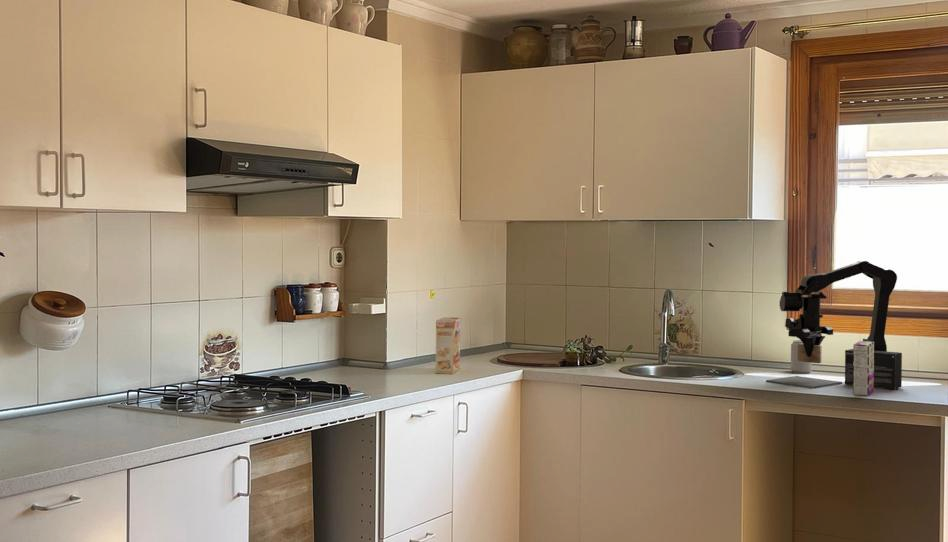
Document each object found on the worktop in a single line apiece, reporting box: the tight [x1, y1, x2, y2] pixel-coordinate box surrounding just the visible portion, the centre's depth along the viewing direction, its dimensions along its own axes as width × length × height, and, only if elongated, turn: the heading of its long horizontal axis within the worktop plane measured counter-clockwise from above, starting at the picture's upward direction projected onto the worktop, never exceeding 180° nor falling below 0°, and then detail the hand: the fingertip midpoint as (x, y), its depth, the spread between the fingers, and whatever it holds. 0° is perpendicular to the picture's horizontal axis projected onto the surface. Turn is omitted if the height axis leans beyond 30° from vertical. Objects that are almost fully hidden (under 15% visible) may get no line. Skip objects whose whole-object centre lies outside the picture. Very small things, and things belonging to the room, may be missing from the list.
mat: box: [765, 375, 843, 389], centre depth 324 cm, size 18×18×1 cm
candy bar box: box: [852, 340, 875, 397], centre depth 303 cm, size 11×5×16 cm, turn 149°
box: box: [844, 348, 903, 390], centre depth 317 cm, size 17×7×12 cm, turn 47°
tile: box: [798, 344, 823, 364], centre depth 325 cm, size 8×2×6 cm, turn 38°
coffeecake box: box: [435, 316, 462, 375], centre depth 346 cm, size 15×7×20 cm, turn 171°
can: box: [790, 339, 813, 374], centre depth 351 cm, size 8×8×12 cm
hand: (810, 356), depth 324 cm, fingers closed on tile, 2 cm apart
